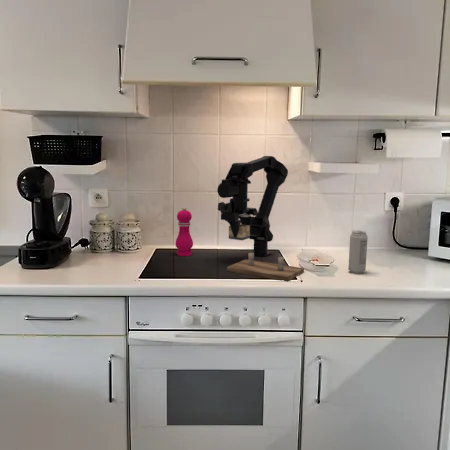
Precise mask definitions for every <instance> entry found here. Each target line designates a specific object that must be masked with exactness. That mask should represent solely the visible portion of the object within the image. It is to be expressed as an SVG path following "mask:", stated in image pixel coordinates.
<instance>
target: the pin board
mask: <svg viewBox="0 0 450 450" xmlns="http://www.w3.org/2000/svg"><path fill="white" fill-rule="evenodd" d="M247 255H248V259H247V258H245V259H243V260H241V261H238V262H236V263H232V264H231V265H228V266H227V267H226V272H232V273H237V274H243V275H250V276H255V277H261V278H266V279H270V280H271V279H272V280H277V281H282V280H284V281H283V282H290V281H291V280H293V279H294V278H296V277H298V276H300V275H302V274H303V273H305V267H304V268H303V267H297V266H292V265H291V266H290V265H285V263H284V262H285V261H284V260H285V257H283V256H278V257H277V263H273V262H272V263H271V262H266V261H260V260H255V259H254V258H255V255H254V253H253V252H248V254H247Z"/></svg>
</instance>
